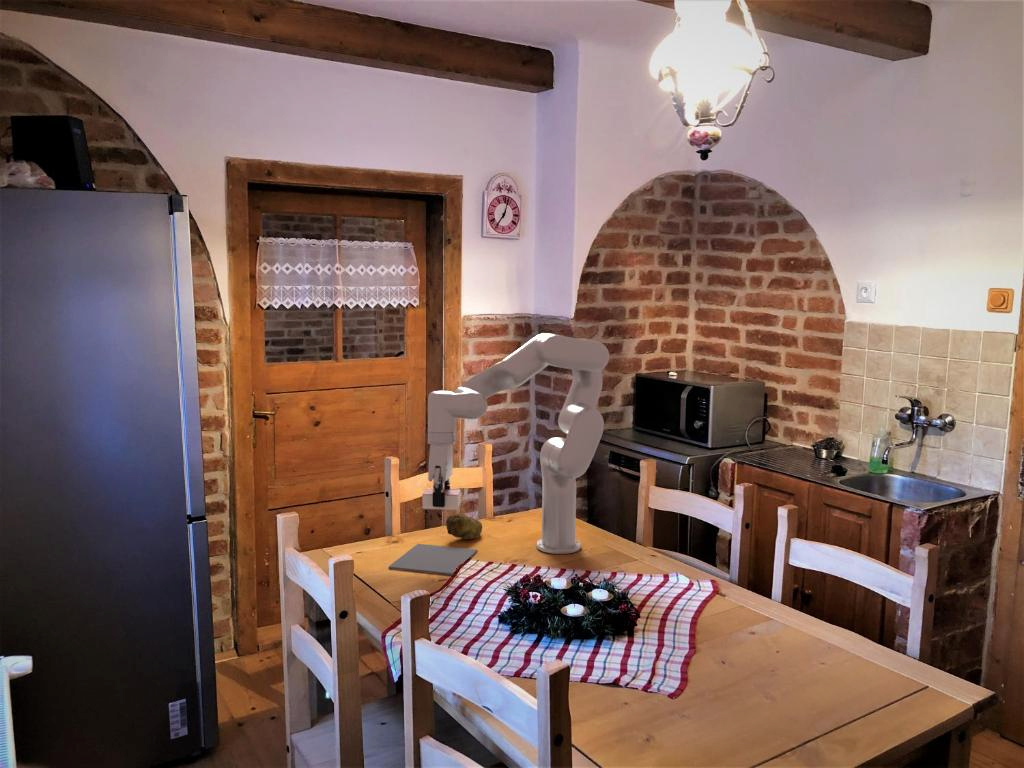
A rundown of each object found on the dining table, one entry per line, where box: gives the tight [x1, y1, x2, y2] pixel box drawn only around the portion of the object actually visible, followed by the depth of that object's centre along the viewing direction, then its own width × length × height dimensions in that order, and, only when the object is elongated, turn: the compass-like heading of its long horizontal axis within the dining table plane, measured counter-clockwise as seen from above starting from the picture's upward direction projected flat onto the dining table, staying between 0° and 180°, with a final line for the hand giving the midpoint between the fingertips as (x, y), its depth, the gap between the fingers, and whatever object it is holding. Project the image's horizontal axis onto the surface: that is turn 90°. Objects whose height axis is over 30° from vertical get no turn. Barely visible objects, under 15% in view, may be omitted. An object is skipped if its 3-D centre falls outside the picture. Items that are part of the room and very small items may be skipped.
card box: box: [421, 488, 461, 511], centre depth 221 cm, size 10×6×4 cm, turn 88°
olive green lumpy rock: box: [445, 513, 483, 540], centre depth 242 cm, size 8×13×8 cm, turn 122°
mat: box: [388, 543, 478, 576], centre depth 224 cm, size 20×18×1 cm
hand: (441, 502), depth 221 cm, fingers closed on card box, 6 cm apart
